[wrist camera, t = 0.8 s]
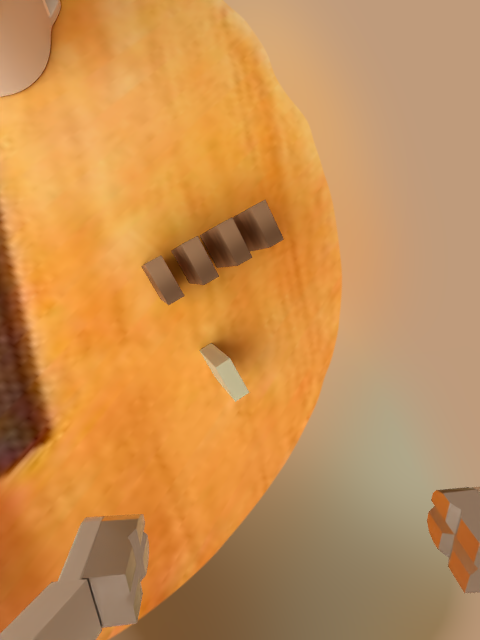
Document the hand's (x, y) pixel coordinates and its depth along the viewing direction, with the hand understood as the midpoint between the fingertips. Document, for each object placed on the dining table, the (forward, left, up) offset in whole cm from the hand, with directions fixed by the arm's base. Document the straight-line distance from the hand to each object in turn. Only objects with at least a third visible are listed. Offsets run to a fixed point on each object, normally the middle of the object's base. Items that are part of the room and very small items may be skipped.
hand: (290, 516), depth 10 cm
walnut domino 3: (-6, +12, -40) cm, 42 cm away
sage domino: (+8, +4, -40) cm, 41 cm away
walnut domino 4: (-6, +16, -40) cm, 44 cm away
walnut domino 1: (-6, +3, -40) cm, 41 cm away
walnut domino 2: (-6, +7, -40) cm, 41 cm away
